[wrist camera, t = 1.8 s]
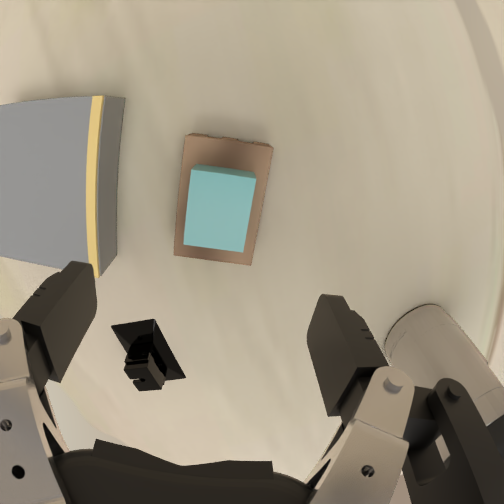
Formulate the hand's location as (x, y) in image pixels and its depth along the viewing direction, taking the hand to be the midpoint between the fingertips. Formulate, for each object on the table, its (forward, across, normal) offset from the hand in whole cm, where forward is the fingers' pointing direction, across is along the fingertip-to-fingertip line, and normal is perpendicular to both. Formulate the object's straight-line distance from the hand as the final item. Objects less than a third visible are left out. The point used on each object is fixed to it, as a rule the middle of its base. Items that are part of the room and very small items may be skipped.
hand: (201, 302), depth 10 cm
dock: (+15, +15, 0) cm, 21 cm away
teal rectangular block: (+12, 0, 0) cm, 12 cm away
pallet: (+16, 0, 0) cm, 16 cm away
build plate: (+16, +6, +19) cm, 26 cm away
